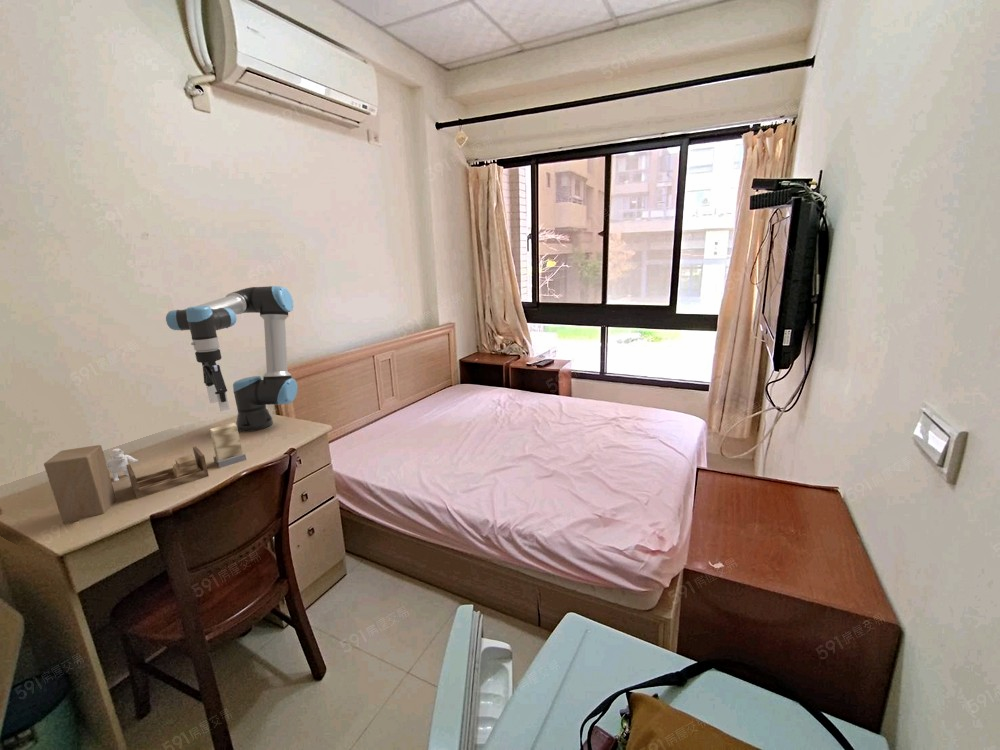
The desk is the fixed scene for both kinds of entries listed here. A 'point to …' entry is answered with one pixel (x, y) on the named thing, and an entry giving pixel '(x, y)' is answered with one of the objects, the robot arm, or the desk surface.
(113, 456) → the figurine
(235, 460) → the holder
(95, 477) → the wooden block
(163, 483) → the rack
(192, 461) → the offcut stack
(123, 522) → the desk surface
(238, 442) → the tan wood slab
